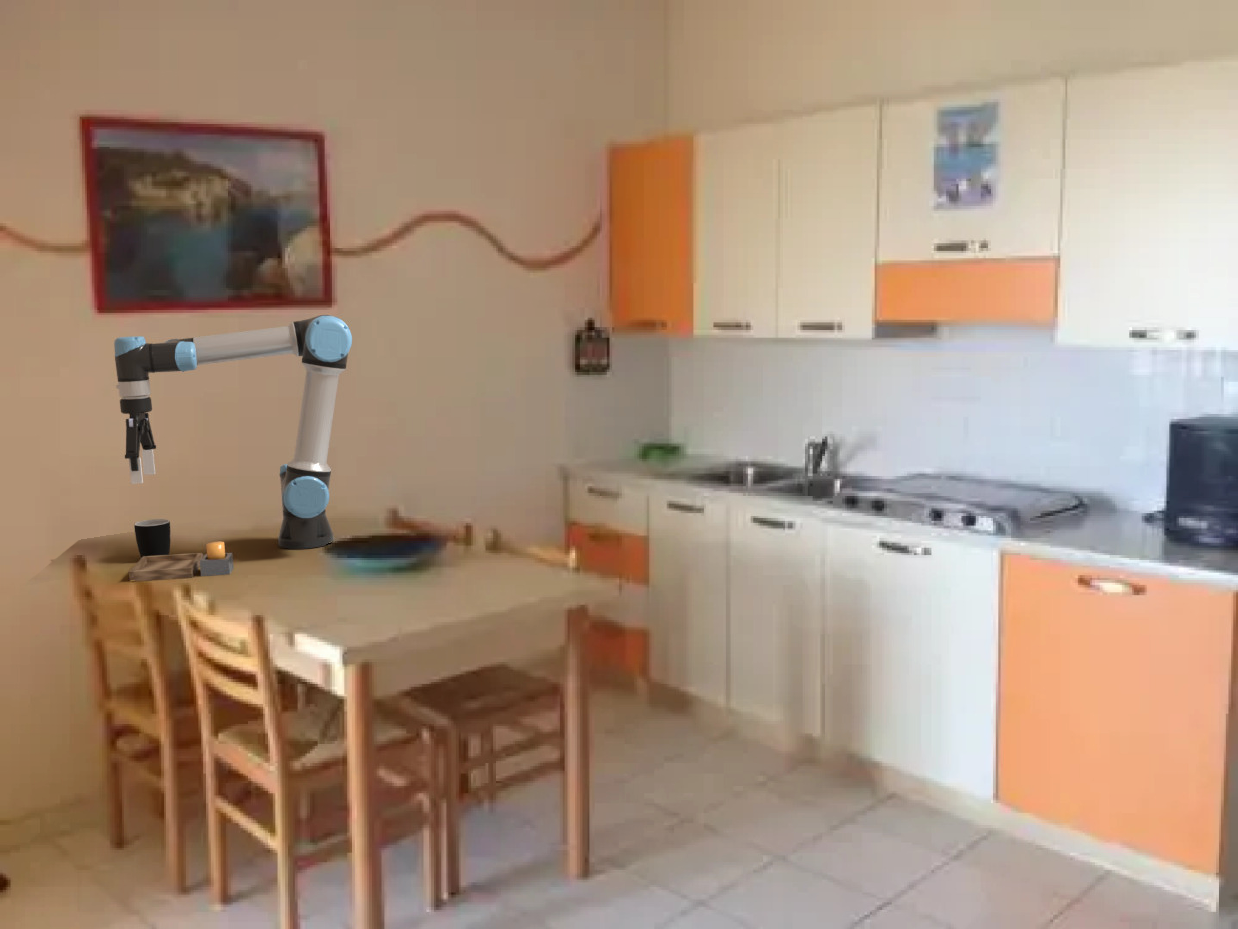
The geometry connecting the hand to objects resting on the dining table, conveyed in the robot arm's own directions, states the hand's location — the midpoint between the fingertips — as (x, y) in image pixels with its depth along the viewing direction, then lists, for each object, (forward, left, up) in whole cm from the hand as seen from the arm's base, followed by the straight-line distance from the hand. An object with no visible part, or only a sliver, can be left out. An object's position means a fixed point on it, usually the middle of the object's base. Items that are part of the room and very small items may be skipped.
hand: (143, 478), depth 313 cm
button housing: (-18, +9, -24) cm, 31 cm away
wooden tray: (-5, +5, -24) cm, 25 cm away
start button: (-18, +9, -21) cm, 29 cm away
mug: (+2, -12, -24) cm, 27 cm away
